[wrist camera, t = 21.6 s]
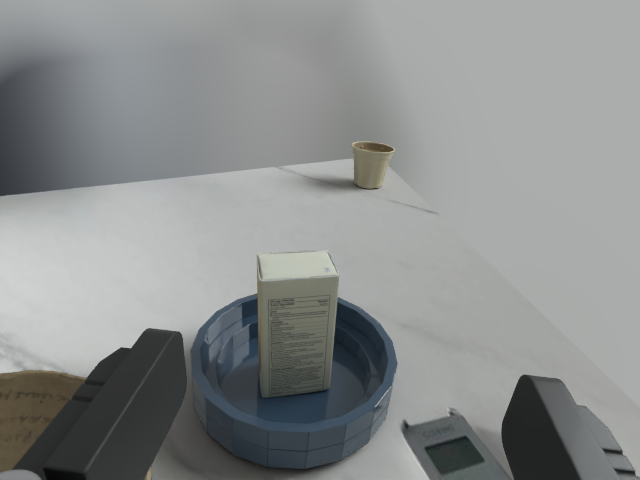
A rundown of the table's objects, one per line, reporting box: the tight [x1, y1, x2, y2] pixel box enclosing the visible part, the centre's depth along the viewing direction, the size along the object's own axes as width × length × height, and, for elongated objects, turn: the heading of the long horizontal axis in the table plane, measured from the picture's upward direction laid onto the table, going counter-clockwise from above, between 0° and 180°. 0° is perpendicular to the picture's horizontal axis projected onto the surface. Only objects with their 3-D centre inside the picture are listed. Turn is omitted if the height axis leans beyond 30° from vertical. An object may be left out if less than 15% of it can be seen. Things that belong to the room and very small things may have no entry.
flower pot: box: [352, 142, 395, 189], centre depth 90 cm, size 9×9×9 cm
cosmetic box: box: [257, 250, 339, 398], centre depth 35 cm, size 6×4×12 cm
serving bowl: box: [190, 293, 397, 469], centre depth 37 cm, size 18×18×4 cm
